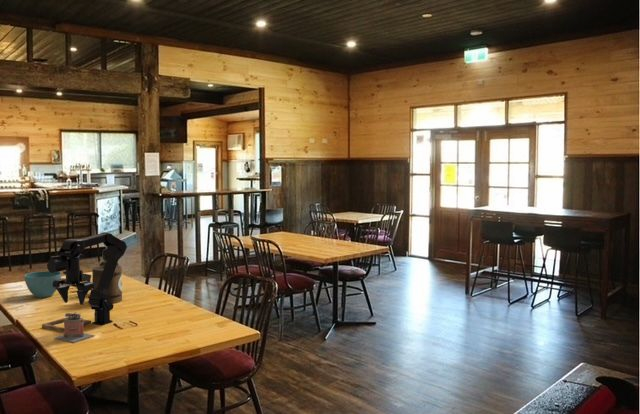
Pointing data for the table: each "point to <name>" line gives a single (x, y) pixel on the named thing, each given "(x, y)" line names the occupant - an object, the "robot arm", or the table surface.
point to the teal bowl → (42, 283)
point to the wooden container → (115, 284)
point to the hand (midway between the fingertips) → (74, 303)
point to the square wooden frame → (56, 328)
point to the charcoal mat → (74, 340)
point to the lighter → (73, 325)
